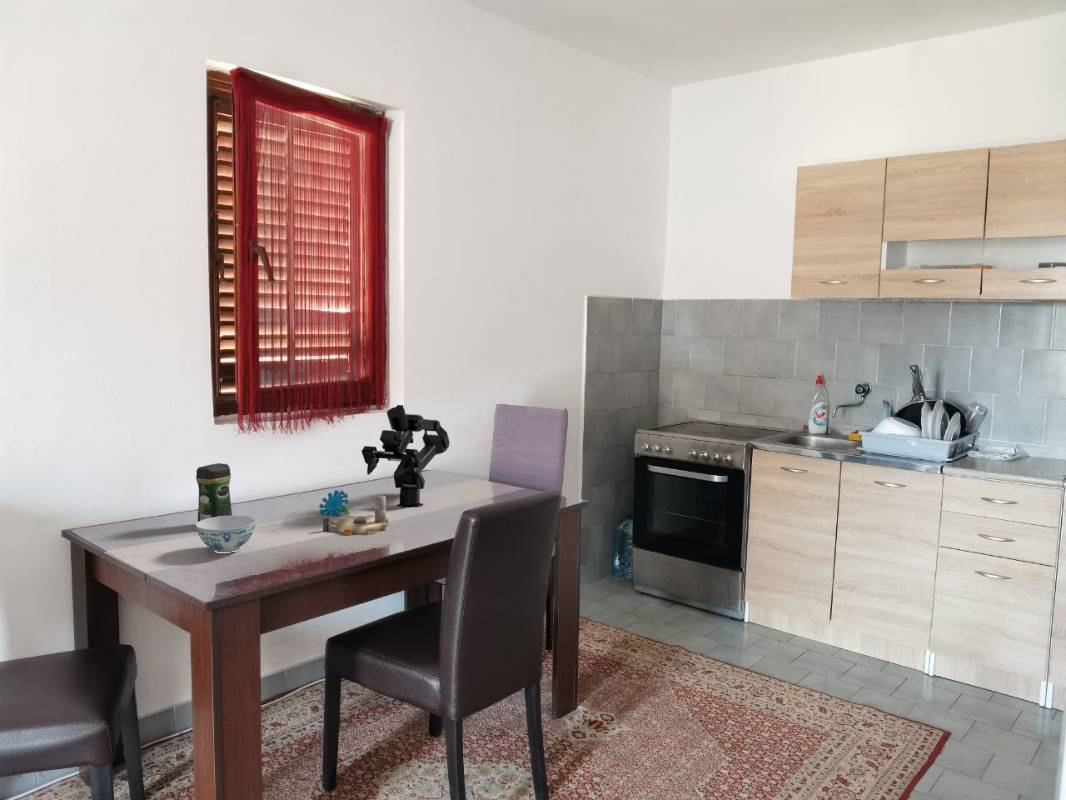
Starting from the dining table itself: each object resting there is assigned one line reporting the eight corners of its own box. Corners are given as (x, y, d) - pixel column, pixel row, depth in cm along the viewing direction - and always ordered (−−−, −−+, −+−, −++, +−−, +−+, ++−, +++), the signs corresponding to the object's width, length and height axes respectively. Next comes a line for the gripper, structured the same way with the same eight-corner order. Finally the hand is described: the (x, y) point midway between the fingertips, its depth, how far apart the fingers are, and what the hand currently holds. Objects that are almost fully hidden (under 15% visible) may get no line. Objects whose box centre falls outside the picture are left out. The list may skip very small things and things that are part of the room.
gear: (312, 510, 257) (331, 485, 262) (321, 520, 261) (340, 495, 266) (335, 520, 251) (354, 494, 256) (344, 530, 255) (363, 504, 260)
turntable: (329, 535, 231) (328, 504, 230) (331, 521, 248) (331, 492, 247) (389, 533, 235) (389, 503, 234) (387, 519, 251) (387, 490, 250)
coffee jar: (217, 520, 249) (216, 460, 247) (237, 523, 246) (235, 463, 244) (192, 527, 240) (190, 465, 239) (212, 530, 237) (210, 468, 235)
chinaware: (237, 539, 228) (236, 512, 228) (267, 550, 219) (266, 521, 218) (185, 551, 217) (185, 522, 216) (215, 562, 207) (214, 532, 207)
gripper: (367, 421, 260) (347, 453, 248) (421, 423, 255) (403, 457, 243) (375, 447, 266) (356, 479, 255) (428, 450, 261) (411, 484, 250)
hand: (381, 474), depth 250 cm, fingers open, 9 cm apart
